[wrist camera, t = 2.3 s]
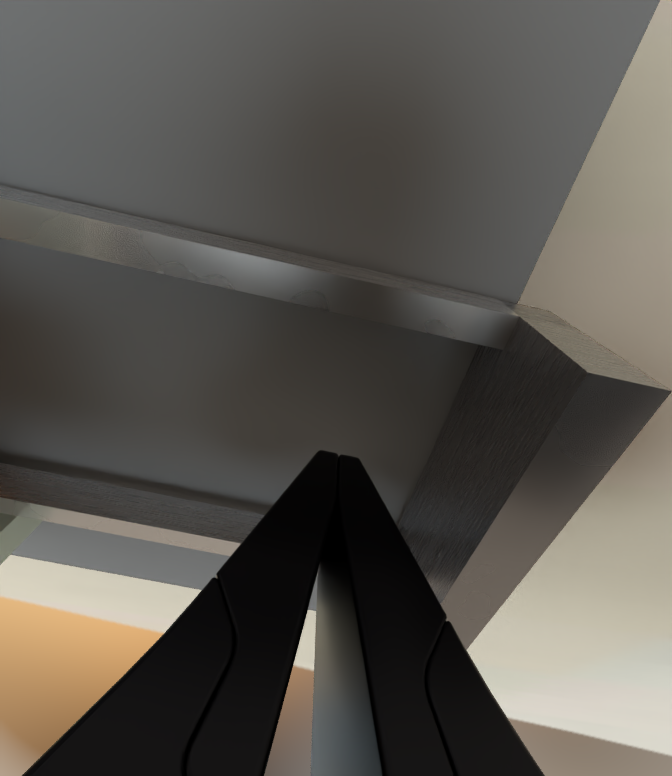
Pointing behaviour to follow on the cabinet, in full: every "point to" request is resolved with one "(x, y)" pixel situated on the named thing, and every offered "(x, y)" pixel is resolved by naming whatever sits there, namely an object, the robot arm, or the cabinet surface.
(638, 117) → the cabinet surface
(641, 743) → the cabinet surface
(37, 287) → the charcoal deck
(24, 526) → the pale green tunnel
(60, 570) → the cabinet surface
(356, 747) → the robot arm
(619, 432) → the silver flat rectangular frame
